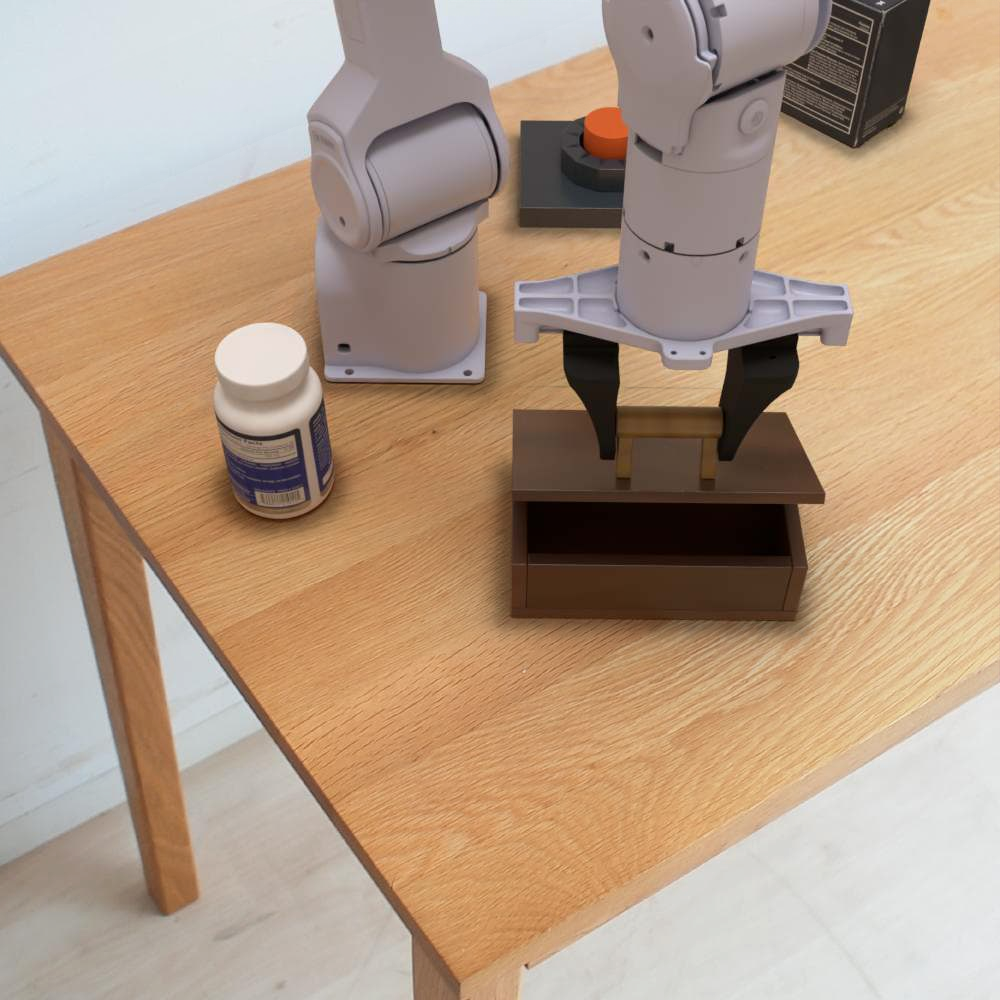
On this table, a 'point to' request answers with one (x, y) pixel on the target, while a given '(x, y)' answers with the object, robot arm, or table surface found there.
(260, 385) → the pill bottle
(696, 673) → the table surface
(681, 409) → the lid
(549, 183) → the control block
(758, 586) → the compartment
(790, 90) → the small box
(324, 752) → the table surface
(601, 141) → the button
